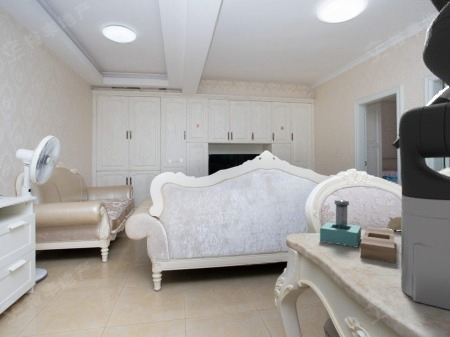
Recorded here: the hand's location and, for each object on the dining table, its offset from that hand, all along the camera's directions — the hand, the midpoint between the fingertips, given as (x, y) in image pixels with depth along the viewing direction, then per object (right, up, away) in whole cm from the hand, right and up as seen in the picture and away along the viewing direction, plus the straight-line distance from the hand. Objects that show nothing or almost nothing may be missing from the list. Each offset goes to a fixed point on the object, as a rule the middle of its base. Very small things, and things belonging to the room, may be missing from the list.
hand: (403, 145), depth 73 cm
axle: (-17, -29, +4) cm, 33 cm away
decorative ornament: (+8, -29, +15) cm, 34 cm away
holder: (-17, -29, +4) cm, 33 cm away
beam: (-10, -29, -4) cm, 31 cm away
